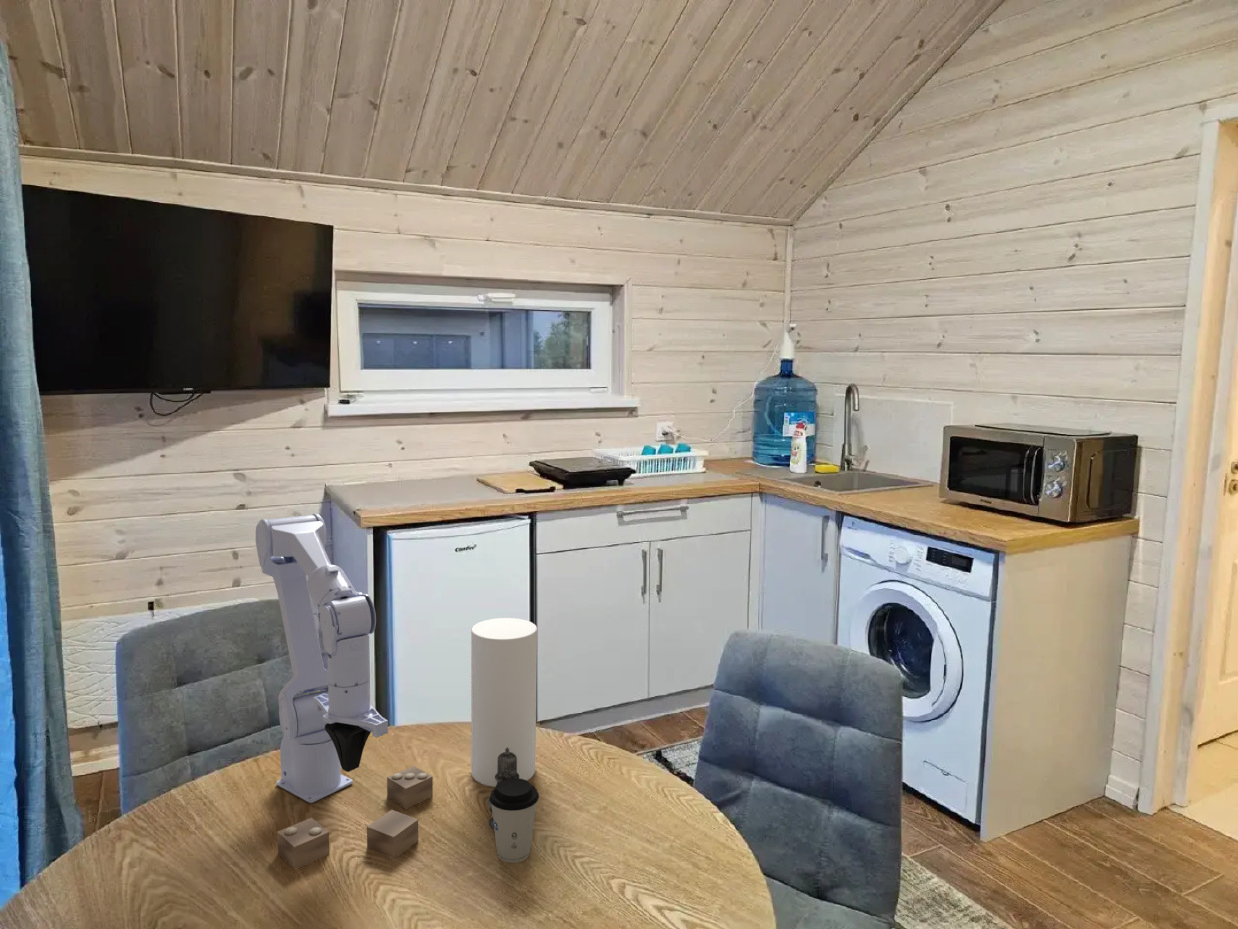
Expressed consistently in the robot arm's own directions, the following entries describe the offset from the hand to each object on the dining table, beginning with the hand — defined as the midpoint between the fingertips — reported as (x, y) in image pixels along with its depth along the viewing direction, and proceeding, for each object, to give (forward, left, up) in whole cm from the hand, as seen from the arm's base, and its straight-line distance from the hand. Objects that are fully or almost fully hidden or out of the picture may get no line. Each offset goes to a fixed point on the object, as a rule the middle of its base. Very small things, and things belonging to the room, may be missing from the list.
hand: (350, 768), depth 122 cm
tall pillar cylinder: (+6, +26, -10) cm, 28 cm away
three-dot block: (0, +11, -10) cm, 15 cm away
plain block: (+8, +1, -10) cm, 13 cm away
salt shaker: (+17, +15, -10) cm, 25 cm away
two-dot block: (0, -8, -10) cm, 12 cm away
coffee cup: (+23, +10, -10) cm, 27 cm away
